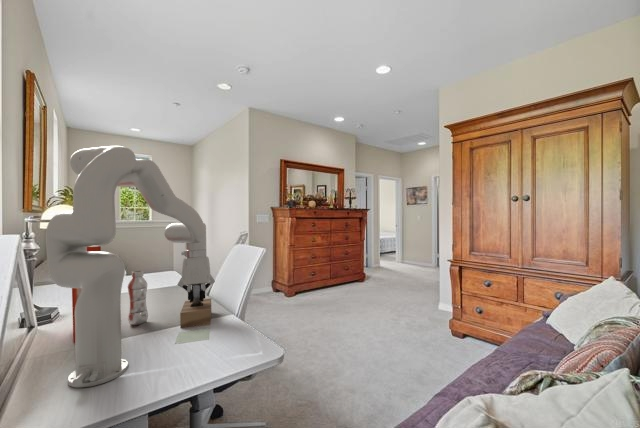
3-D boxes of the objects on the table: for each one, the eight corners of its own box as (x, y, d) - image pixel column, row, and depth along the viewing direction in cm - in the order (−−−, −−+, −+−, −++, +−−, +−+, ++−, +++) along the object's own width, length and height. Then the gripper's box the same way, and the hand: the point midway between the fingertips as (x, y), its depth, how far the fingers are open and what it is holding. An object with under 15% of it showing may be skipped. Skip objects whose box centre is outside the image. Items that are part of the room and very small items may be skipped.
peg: (201, 312, 114) (201, 276, 114) (191, 313, 113) (191, 276, 113) (202, 309, 117) (201, 274, 117) (192, 310, 116) (192, 275, 116)
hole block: (210, 325, 109) (209, 309, 109) (180, 329, 106) (180, 312, 106) (211, 312, 124) (211, 298, 124) (185, 315, 121) (185, 300, 121)
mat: (208, 340, 96) (208, 339, 96) (174, 345, 93) (174, 343, 93) (209, 329, 105) (209, 328, 105) (178, 333, 102) (178, 332, 102)
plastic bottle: (152, 320, 115) (151, 269, 115) (140, 327, 109) (139, 273, 109) (136, 320, 116) (136, 269, 116) (123, 327, 109) (123, 273, 109)
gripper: (171, 256, 109) (171, 306, 109) (218, 253, 114) (219, 301, 114) (174, 254, 116) (174, 300, 116) (218, 251, 122) (219, 296, 121)
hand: (196, 300), depth 115 cm, fingers closed on peg, 3 cm apart
